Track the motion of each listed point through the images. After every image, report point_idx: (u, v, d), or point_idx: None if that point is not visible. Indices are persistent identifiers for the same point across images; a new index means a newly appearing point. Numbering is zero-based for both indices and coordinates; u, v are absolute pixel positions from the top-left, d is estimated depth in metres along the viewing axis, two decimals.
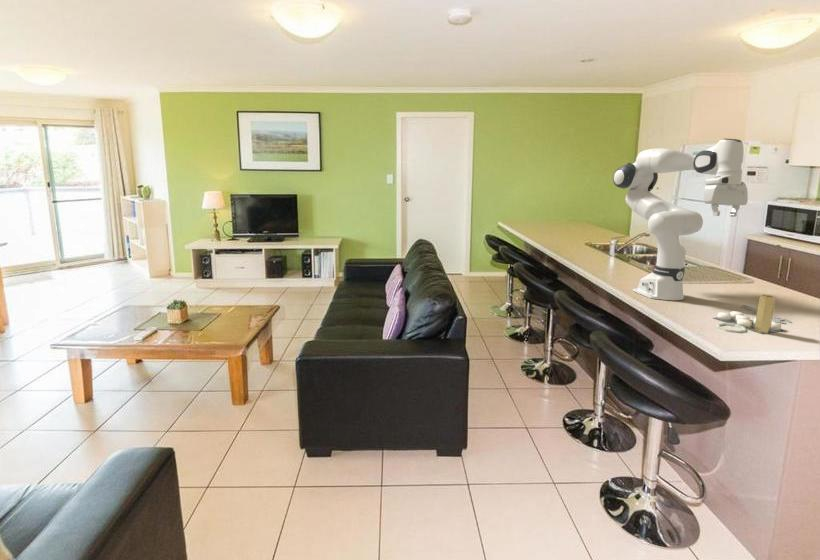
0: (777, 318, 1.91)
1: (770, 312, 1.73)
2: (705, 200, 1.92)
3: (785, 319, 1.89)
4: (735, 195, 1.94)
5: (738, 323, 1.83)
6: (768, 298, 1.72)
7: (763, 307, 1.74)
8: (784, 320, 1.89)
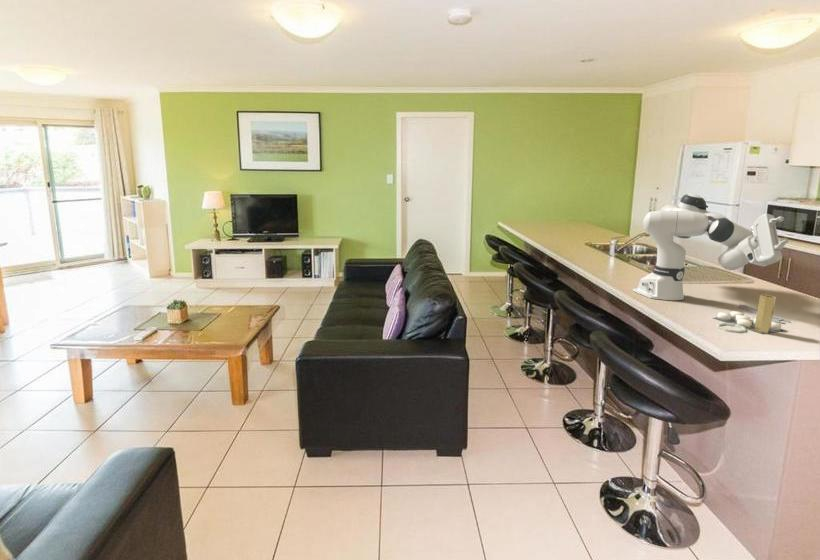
0: (776, 318, 1.91)
1: (770, 312, 1.73)
2: (777, 259, 1.84)
3: (784, 319, 1.90)
4: (761, 232, 1.92)
5: (738, 323, 1.83)
6: (768, 298, 1.72)
7: (763, 307, 1.74)
8: None
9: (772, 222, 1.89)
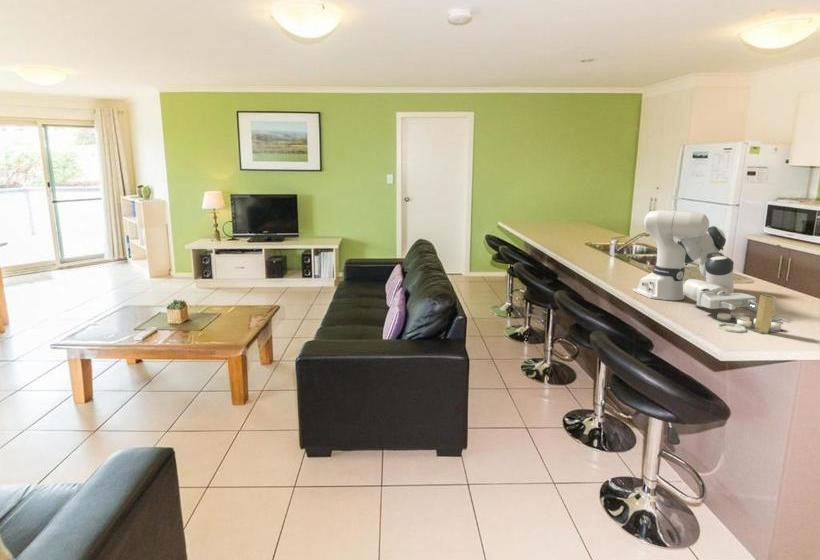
0: (774, 317, 1.91)
1: (770, 312, 1.73)
2: (709, 305, 1.89)
3: (782, 318, 1.90)
4: (734, 295, 1.93)
5: (738, 323, 1.83)
6: (768, 298, 1.72)
7: (763, 307, 1.74)
8: (781, 319, 1.90)
9: (747, 302, 1.90)
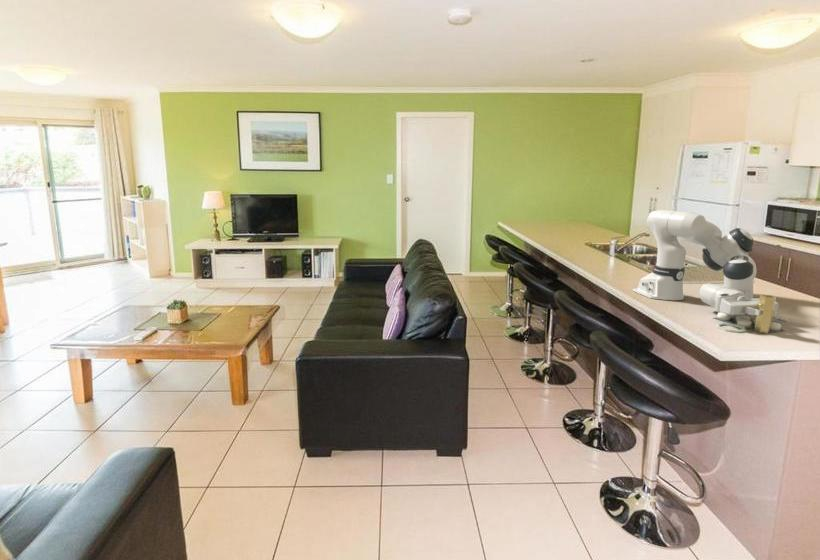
0: None
1: (770, 312, 1.73)
2: (729, 311, 1.79)
3: (780, 318, 1.90)
4: (755, 301, 1.83)
5: (738, 323, 1.83)
6: (768, 298, 1.72)
7: (763, 307, 1.74)
8: (779, 319, 1.91)
9: None
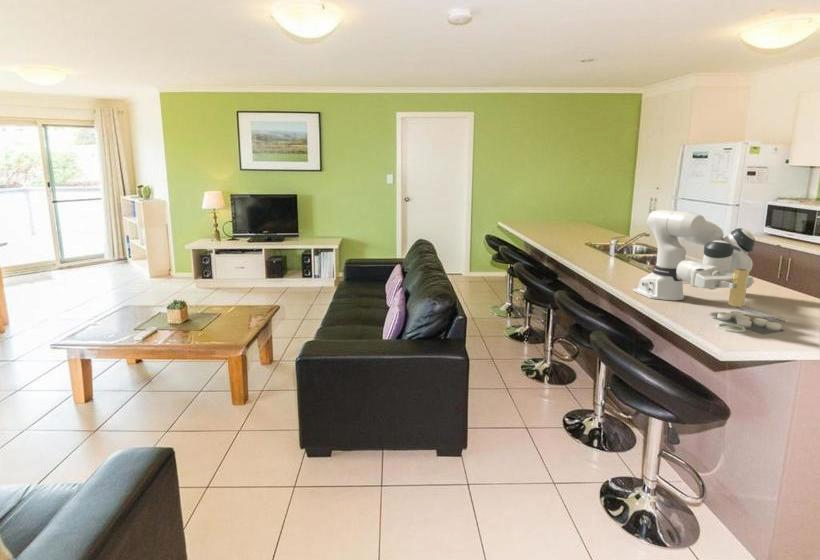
0: (771, 317, 1.92)
1: (743, 285, 1.74)
2: (703, 285, 1.79)
3: (779, 318, 1.91)
4: (729, 275, 1.83)
5: (738, 323, 1.83)
6: (741, 271, 1.73)
7: (737, 280, 1.75)
8: None
9: None
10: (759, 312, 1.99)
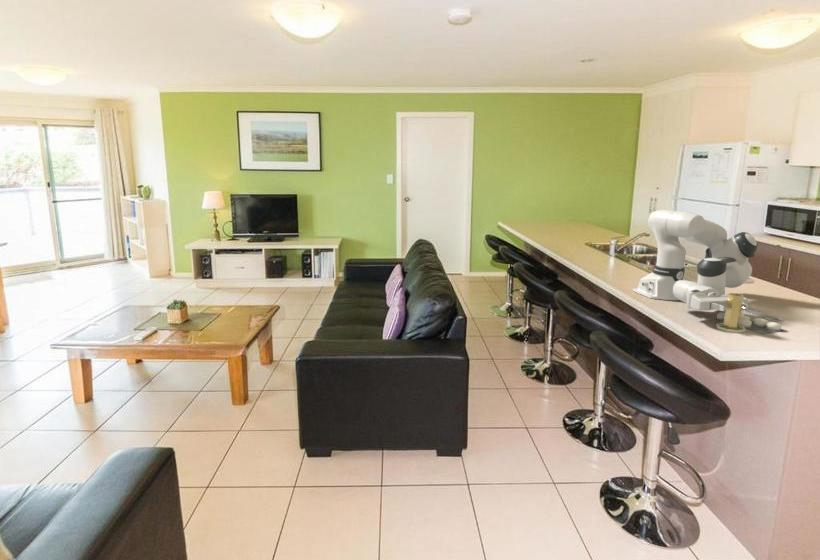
0: (769, 316, 1.92)
1: (738, 310, 1.76)
2: (698, 307, 1.81)
3: (777, 317, 1.91)
4: (725, 297, 1.85)
5: None
6: (736, 296, 1.76)
7: (731, 305, 1.77)
8: (776, 318, 1.91)
9: None
10: (758, 312, 1.99)
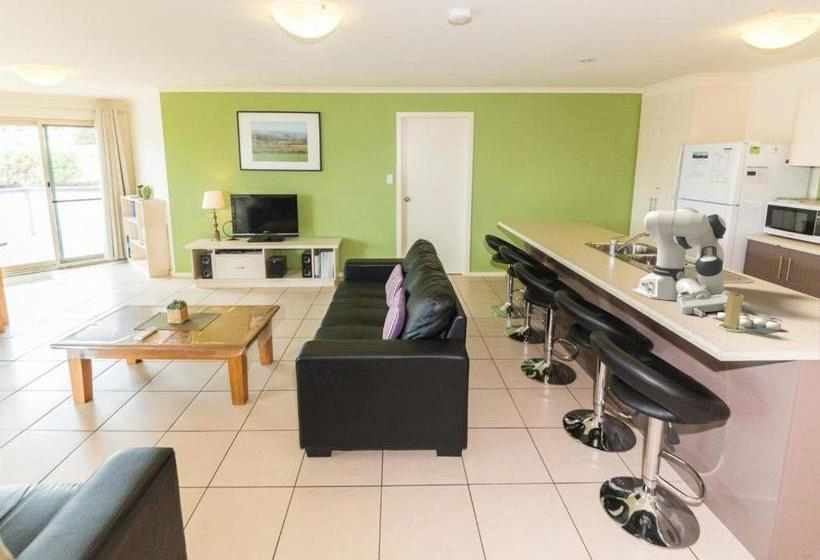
0: (767, 316, 1.93)
1: (738, 310, 1.76)
2: (682, 311, 2.00)
3: (775, 317, 1.92)
4: (712, 299, 2.00)
5: None
6: (736, 296, 1.76)
7: (731, 305, 1.77)
8: (774, 318, 1.92)
9: (724, 306, 1.97)
10: (756, 311, 2.00)
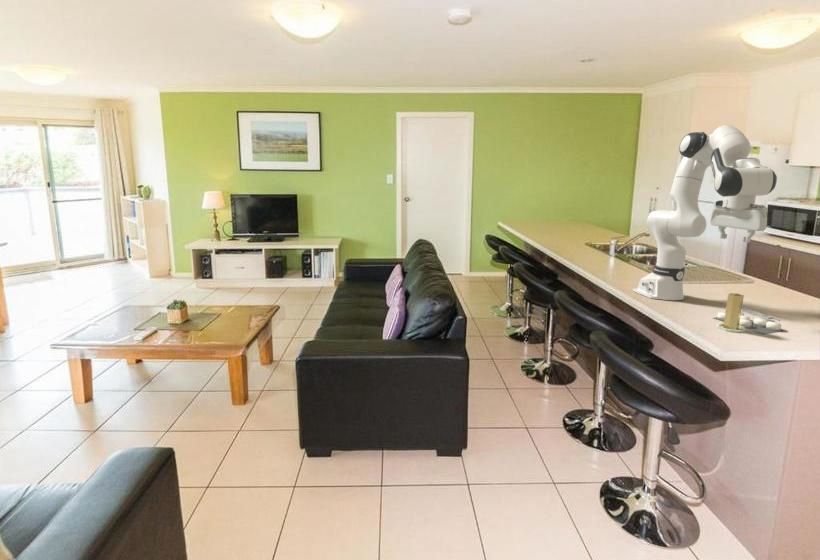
0: (765, 316, 1.93)
1: (738, 310, 1.76)
2: None
3: (773, 317, 1.92)
4: (741, 219, 1.81)
5: None
6: (736, 296, 1.76)
7: (731, 305, 1.77)
8: (772, 318, 1.92)
9: None
10: (754, 311, 2.00)
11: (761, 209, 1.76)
